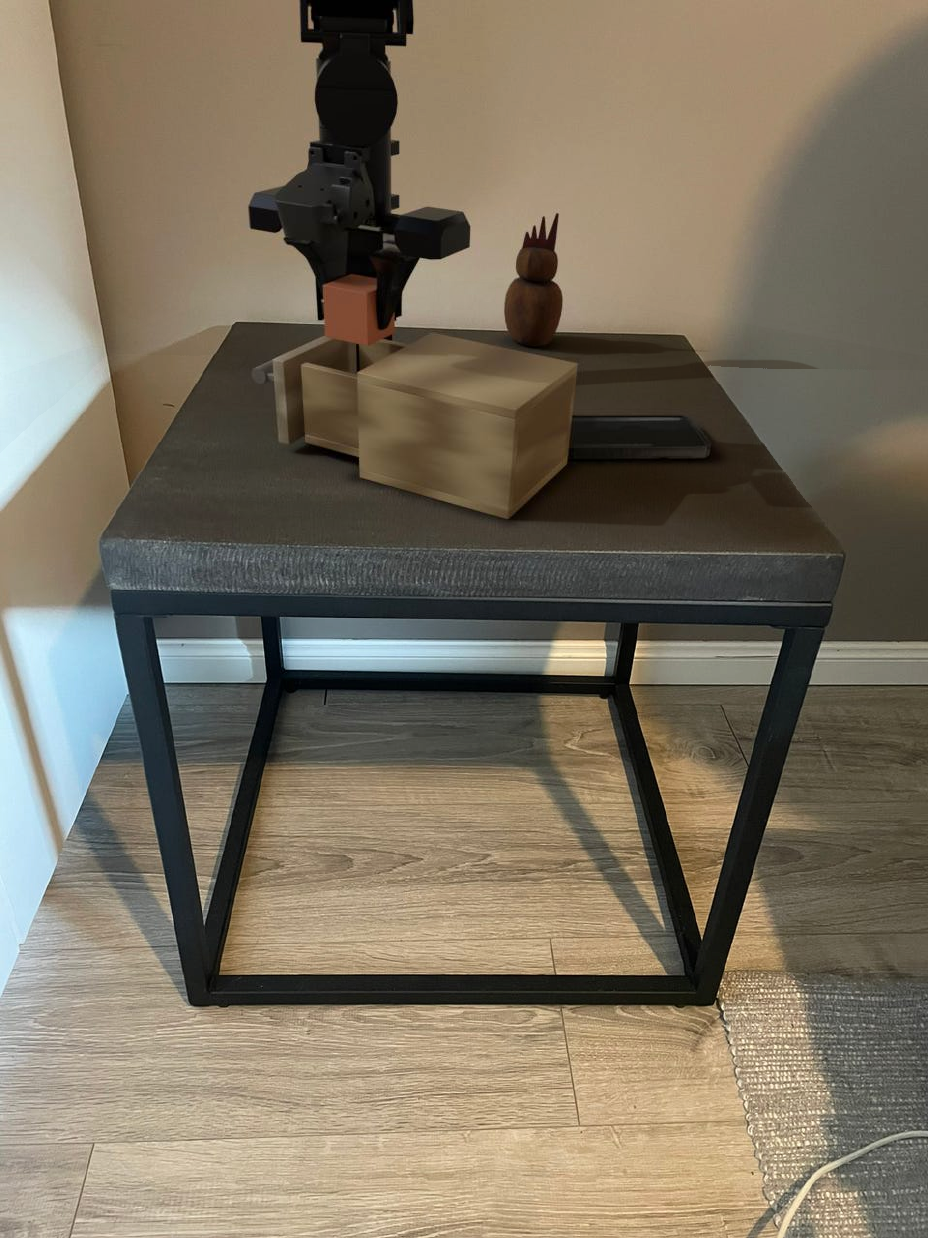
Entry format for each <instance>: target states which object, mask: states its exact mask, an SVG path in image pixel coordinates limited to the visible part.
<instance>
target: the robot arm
mask: <svg viewBox="0 0 928 1238" xmlns="http://www.w3.org/2000/svg"><path fill="white" fill-rule="evenodd" d="M309 7H310V21H311V23H312V25H313V26H312V28H309ZM394 11H395V12H394ZM395 17H396V31H394V25H395ZM414 17H415V15H414V0H299V28H300V29H299V31H300V33H299V34H300V43H301V44H302V43H305V44H320V45H321V46H322V49H321V50H320V51H319V53H318V57H317V58H315V69H316V72H315V73H316V83H315V88H314V104H315V109H316V114H317V116H318V117H317V119H318V139H319V140H313V141H309V148H308V151H307V156H308V160H307V161H308V162H307V166H306V169H305V170H303V171H300V172H297V174H295V175H294V176H293V177H292V178H291V179H290V180H289V181H288V182H286V184H284V185H281V186H277V187H273V188H268V189H265V190H260V191H257V192H254V193H253V195H252V197H251V199H250V201H249V203H248V206H247V213H248V224H249V228H250V230H253V231H261V232H267V233H271V234H272V233H273V234H276V233H277V234H278V233H280V232H281V230H282V231H283V234H284V236H283V242H284V243H285V244H286V245H287V246H291V247H293V248H294V249H296V250H297V251H298V252H299V253H300V254H301V255H302V256H303V257H304V258H305V259H306V261H307V262H308V265H309V267H310V269H311V271H312V273H313V275H314V277H315V279H314V280H315V297H316V298H315V299H316V312H317V313H316V314H317V316H316V317H317V321H318V322H320V321H321V322H322V321H324V302H323V285H324V284H327V283H329V282H332V281H335V280H337V279H340V278H342V277H345V276H348V275H350V274H354V275H360V276H365V277H371V278H376V279H377V293H376V313H377V322H378V329H379V330H384V329H386V328H387V327H388V326H389V323H390V321H391V319H392V316H393V314H394V311H395V322H397V318H400V317H402V316H403V292H404V290H405V288H406V285H407V283H408V281H409V279H410V277H411V276H412V273H413V272H414V270H415V268H416V266H417V264H418V263H419V261H420V259H424V260H430V261H436V260H438V261H439V260H443V259H446V258H447V257H449V256H452V255H455V254H457V253H459V252H462V251H464V250H467V249H470V247H471V225H470V222H469V221H468V219H467V216H466V215H465V213H464V211H460V210H456V209H455V210H454V209H447V208H440V207H435V206H428V205H427V206H423V207H421V208H418V209H414V210H411V211H409V212H406V213H402V214H398V213H392V211H394V210H397V209H400V194H396V193H392V157H394V156H397V155H398V156H399V155H400V140H399V139H398V140H397V139H392V126H393V125H394V121H395V119H396V116H397V113H398V106H399V99H398V91H397V88H396V85H395V81H394V79H393V77H392V62H391V61H390V60H389V57H388V55H387V54H386V47H407V35H414V24H415V18H414ZM383 339H386V340H390V341H393V334H391V335H389V336H387V337H385V338H383ZM356 365H357V372H359V371H360V360H359V344H356Z"/></svg>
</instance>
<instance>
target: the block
mask: <svg viewBox="0 0 928 1238" xmlns="http://www.w3.org/2000/svg"><path fill="white" fill-rule="evenodd" d="M376 293H377V279H376V278H371V277H365V276H360V275H354V274H350V275H348V276H345V277H342V278H340V279H337V280H335V281H332V282H329V283H327V284H324V285H323V302H324V320H323V321H324V323H323V324H324V336H325V337H328V338H332V339H337V340H342V341H346V342H351V343H356V344H360V345H365V346H369V345H371V344H373V343H375V342H377V341H379V340H381V339H383V338H385V337H387V336H389V335H391V334H392V335H393V334H395V332H396V331H395V330H396V329H395V327H396V325H395V322H396V321H395V311H394V314H393V316H392V319H391V321H390V323H389V326H388V327H387V328H386V329H384V330H379V329H378V322H377V313H376Z"/></svg>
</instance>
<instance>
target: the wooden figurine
mask: <svg viewBox="0 0 928 1238" xmlns="http://www.w3.org/2000/svg"><path fill="white" fill-rule="evenodd" d="M559 216H560V214H559V212H555V215H554V218H553V222H552V224H551V227H550V230H549V232H548V235H547V227H546V226H547V225H546V216H545V215H543V216H542V218H541V222H540V227H539V232H538V234H537V226H536V225H533V226H532V230H531V234H530V233H529V231H526V232H525V234H524V237H523V242H522V246H521V248H520V250H519V251H518V254H517V256H516V258H515V259H516V260H515V271H516V274H517V275H518V277H516V278H514V279H513V280H512V281H511V283H510V284H509V286H508V288H507V291H506V293H505V298H504V305H503V313H504V314H503V315H504V321H505V323H504V324H505V326H506V330H507V332H508V335H509V337H510V338H511V340H513V341H514V342H515V343H517V344H518V345H522V346H526V347H542V346H546V345H549V343H550V342H552V340H553V338H554V336H555V334H556V332H557V329H558V327H559V325H560V321H561V317H562V312H563V311H562V310H563V299H564V298H563V292H562V289H561V288H560V286H559V284H558V283H557V282H555V281H554V280H553V279H554V278H555V277H556V275H557V272H558V267H559V259H558V258H559V257H558V254H557V252H556V250H555V249H556V243H557V235H558V227H559V225H558V224H559Z"/></svg>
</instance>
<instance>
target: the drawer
mask: <svg viewBox="0 0 928 1238" xmlns="http://www.w3.org/2000/svg"><path fill="white" fill-rule="evenodd" d="M408 345H410V344H407V343H404V342H399V341H395V340H392V341H390V340H386V339H381V340H379V341H377V342H375V343H373V344H371V345H369V346H365V345H360V344H359V360H360V371H361V370H363V369H365V368H367V367H368V366H370V365H372V364H374V363H376V362H378V361H380V360H382V359H383V358H385V357H387V356H389V355H391V354H393V353H395V352H397V351H398V350H400V349H402V348H404V347H406V346H408ZM251 377H252V380H253V381H254V382H255V383H256V384H257V385H265V384H267V383H269V382H273V383H274V385H273V386H274V396H275V408H276V421H277V422H276V423H277V435H278V436H277V437H278V443H281V444H285V445H288V446H290V445H292V444H293V443H295V442H296V441H299V440H300V439H302V438H303V437H304V440H305V441H304V442H305V443H306V444H308V445H309V444H310V445H313V446H317V447H321V448H323V449H328V450H332V451H336V452H338V453H342V454H346V455H350V456H353V457H357V458H359V425H358V384H357V382H358V381H357V365H356V343H351V342H346V341H342V340H337V339H332V338H328V337H325V335H323V336H321V337H318V338H316V339H314V340H312V341H310V342H306V343H305V344H304V345H301V346H298V347H297V348H295V349H292V350H290V351H288V352H285V353H283V354H281V355H279V356H276V357H274V358H273V359H271V360H269V361H267V362H264V363H262V364H260V365H258V366H256V367H254V368H253V369H252V371H251Z"/></svg>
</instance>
